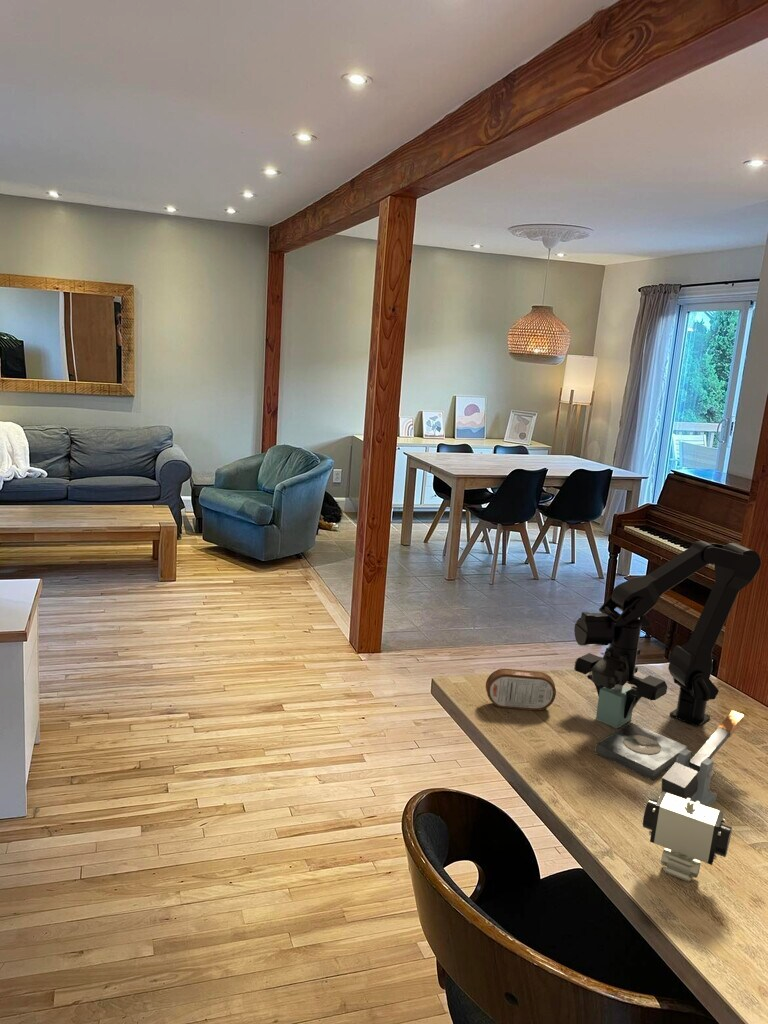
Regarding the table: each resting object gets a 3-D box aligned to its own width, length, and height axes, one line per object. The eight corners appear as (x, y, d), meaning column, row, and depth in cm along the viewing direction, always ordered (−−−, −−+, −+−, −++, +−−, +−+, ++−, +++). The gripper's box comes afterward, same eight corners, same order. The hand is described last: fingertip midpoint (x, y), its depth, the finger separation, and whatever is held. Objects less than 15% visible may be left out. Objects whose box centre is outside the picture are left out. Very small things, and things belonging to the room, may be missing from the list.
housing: (610, 711, 168) (615, 672, 166) (631, 720, 164) (636, 681, 162) (595, 719, 164) (601, 680, 162) (617, 728, 160) (622, 688, 158)
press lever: (726, 720, 148) (727, 703, 147) (747, 728, 146) (749, 710, 144) (661, 796, 132) (661, 777, 131) (683, 807, 130) (684, 788, 128)
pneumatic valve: (717, 897, 111) (731, 824, 109) (635, 865, 117) (646, 795, 114) (723, 877, 116) (736, 806, 113) (644, 846, 122) (655, 778, 119)
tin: (552, 707, 168) (556, 671, 166) (554, 713, 165) (559, 677, 163) (483, 701, 169) (487, 665, 167) (484, 708, 166) (488, 671, 164)
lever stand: (678, 782, 141) (684, 743, 139) (715, 800, 136) (723, 759, 134) (662, 794, 137) (669, 753, 135) (701, 812, 132) (708, 770, 130)
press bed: (630, 731, 159) (631, 721, 159) (686, 755, 151) (687, 745, 150) (594, 753, 150) (596, 742, 149) (652, 780, 141) (654, 769, 141)
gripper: (564, 638, 161) (556, 707, 165) (647, 668, 148) (636, 742, 152) (592, 627, 169) (583, 693, 172) (673, 655, 156) (662, 725, 159)
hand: (614, 712), depth 164 cm, fingers closed on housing, 5 cm apart
